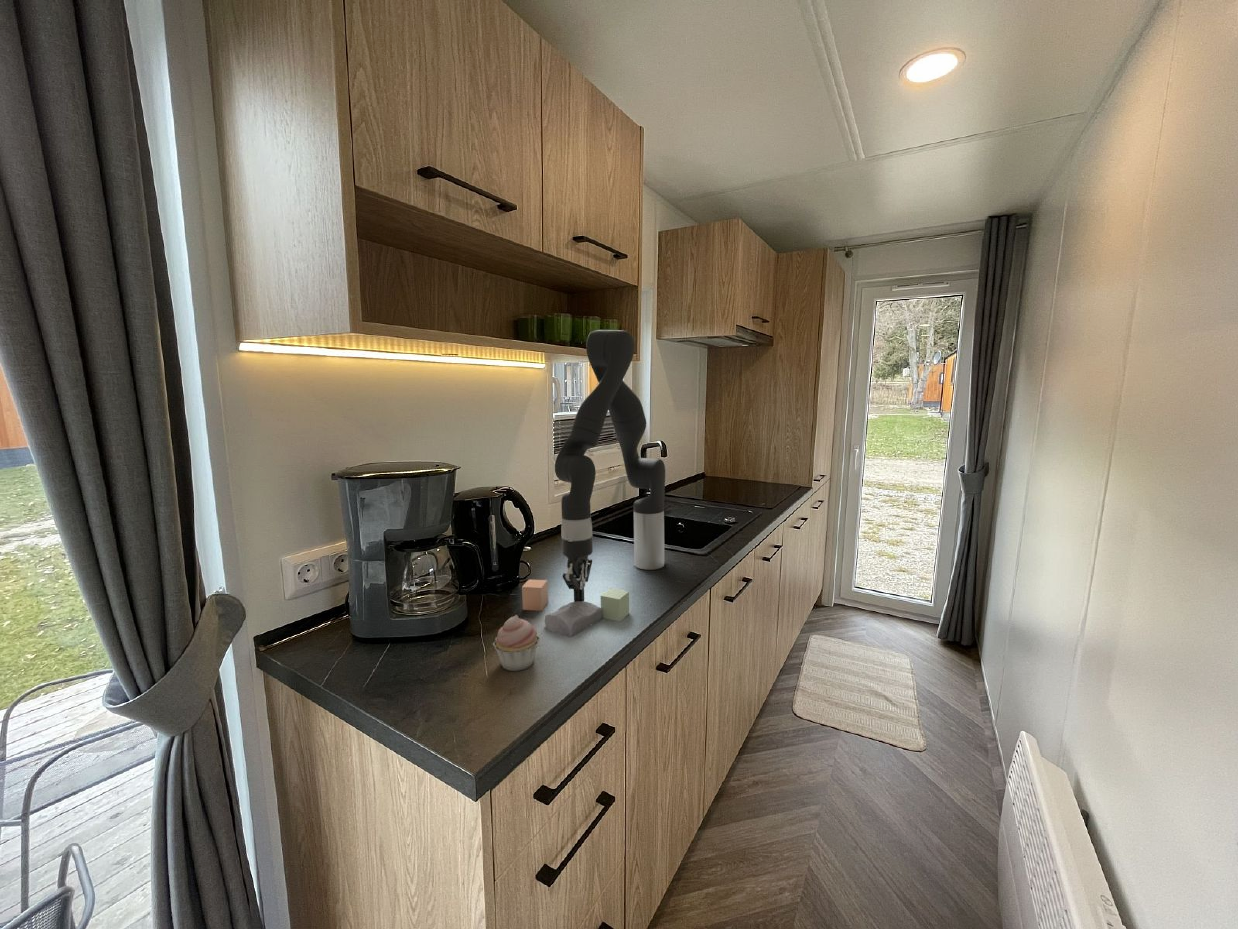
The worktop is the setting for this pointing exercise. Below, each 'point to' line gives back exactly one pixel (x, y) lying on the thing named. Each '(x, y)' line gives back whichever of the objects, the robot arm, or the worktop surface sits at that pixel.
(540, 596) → the terracotta block
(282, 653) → the worktop surface
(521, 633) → the cupcake
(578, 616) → the stone block
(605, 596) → the sage block
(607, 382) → the robot arm
